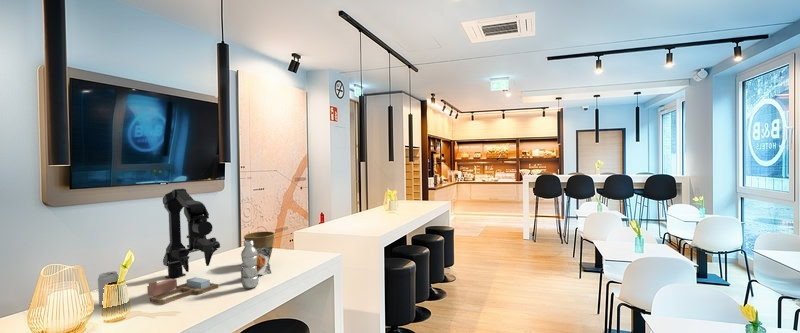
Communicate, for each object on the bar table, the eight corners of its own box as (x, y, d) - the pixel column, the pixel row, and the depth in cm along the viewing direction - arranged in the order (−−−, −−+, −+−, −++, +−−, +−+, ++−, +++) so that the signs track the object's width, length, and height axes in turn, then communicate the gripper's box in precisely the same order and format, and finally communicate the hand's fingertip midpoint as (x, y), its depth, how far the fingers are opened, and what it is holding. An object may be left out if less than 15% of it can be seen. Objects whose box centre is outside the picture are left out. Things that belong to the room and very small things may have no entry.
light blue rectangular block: (186, 288, 162) (186, 279, 162) (195, 285, 166) (195, 276, 166) (201, 292, 157) (200, 282, 157) (210, 289, 161) (209, 279, 161)
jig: (145, 300, 150) (145, 296, 149) (196, 283, 169) (196, 279, 169) (167, 305, 143) (167, 302, 142) (218, 287, 162) (218, 284, 162)
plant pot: (239, 266, 193) (237, 235, 192) (263, 259, 205) (262, 230, 205) (257, 270, 185) (256, 238, 185) (281, 262, 198) (280, 232, 197)
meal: (247, 283, 166) (246, 254, 166) (241, 282, 168) (239, 253, 168) (273, 273, 179) (272, 246, 179) (267, 272, 181) (266, 245, 181)
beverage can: (108, 307, 143) (106, 276, 143) (94, 306, 144) (93, 275, 144) (124, 301, 149) (122, 271, 149) (110, 300, 151) (109, 270, 150)
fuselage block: (147, 295, 155) (147, 282, 155) (170, 287, 164) (170, 275, 164) (154, 296, 154) (153, 283, 153) (177, 288, 163) (176, 276, 163)
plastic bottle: (244, 285, 163) (242, 239, 163) (260, 284, 164) (258, 239, 163) (239, 290, 157) (237, 243, 156) (256, 289, 157) (254, 242, 157)
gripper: (186, 238, 149) (188, 277, 149) (227, 229, 165) (229, 264, 166) (169, 236, 154) (171, 274, 154) (211, 228, 170) (212, 262, 171)
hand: (197, 268), depth 161 cm, fingers open, 9 cm apart
